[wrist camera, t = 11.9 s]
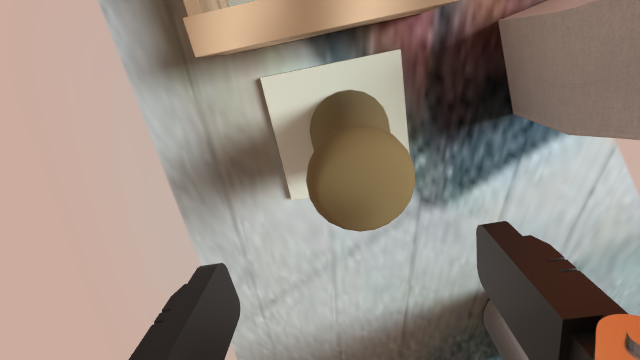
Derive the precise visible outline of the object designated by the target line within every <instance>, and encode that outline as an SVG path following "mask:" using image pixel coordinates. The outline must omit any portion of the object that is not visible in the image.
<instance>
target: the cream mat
mask: <svg viewBox="0 0 640 360" xmlns="http://www.w3.org/2000/svg"><path fill="white" fill-rule="evenodd" d="M260 79H261V83H262V87H263V91H264V95H265V99H266V103H267V107H268V111H269V114H270V118H271V122H272V126H273V130H274V134H275V138H276V142H277V146H278V149H279V153H280V157H281V161H282V165H283V169H284V173H285V177H286V181H287V184H288V188H289V192H290V196H291V200H296V199H303V198H309V193H308V189H307V184H306V176H307V169H308V163H309V160H310V158H311V156H312V154H313V152H314V149H313V146H312V142H311V136H310V123H311V118H312V116H313V114H314V112H315V110H316V108H317V106H318V105H319V104H320V103H321V102H322V101H323V100H324V99H325V98H326V97H328V96H330V95H332V94H334V93H336V92H339V91H345V90H356V91H362V92H365V93H367V94H369V95H370V96H372V97H374V98H375V99H376V100H377V101H378V102H379V103H380V104H381V105H382V106H383V108H384V110H385V112H386V115H387V117H388V120H389V126H390V132H391V134H393V135H394V136H395V137H396V138H397V139H398V140H399V141H400V142H401V143H402V144H403V145H404V146H405V148H406V149H407V150H408V152H409V143H408V131H407V120H406V108H405V96H404V84H403V72H402V60H401V49H398V50H393V51H388V52H383V53H378V54H373V55H368V56H363V57H359V58H354V59H349V60H344V61H339V62H334V63H329V64H324V65H319V66H315V67H310V68H305V69H300V70H295V71H290V72H285V73H280V74H275V75H271V76H266V77H261V78H260Z"/></svg>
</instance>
